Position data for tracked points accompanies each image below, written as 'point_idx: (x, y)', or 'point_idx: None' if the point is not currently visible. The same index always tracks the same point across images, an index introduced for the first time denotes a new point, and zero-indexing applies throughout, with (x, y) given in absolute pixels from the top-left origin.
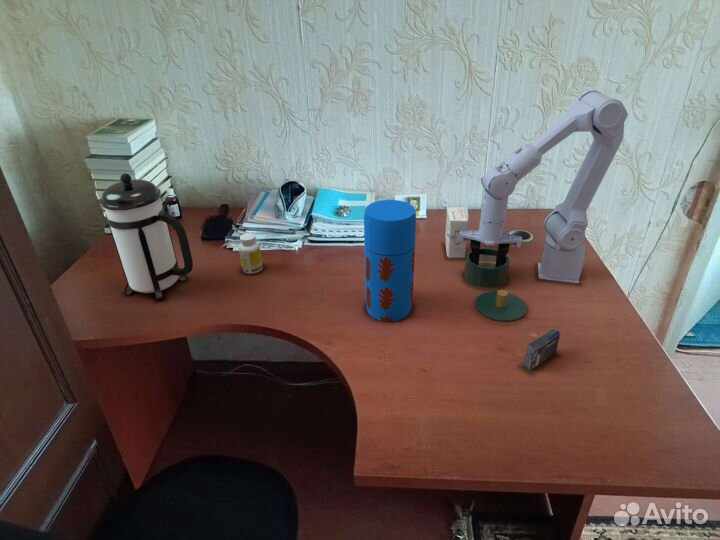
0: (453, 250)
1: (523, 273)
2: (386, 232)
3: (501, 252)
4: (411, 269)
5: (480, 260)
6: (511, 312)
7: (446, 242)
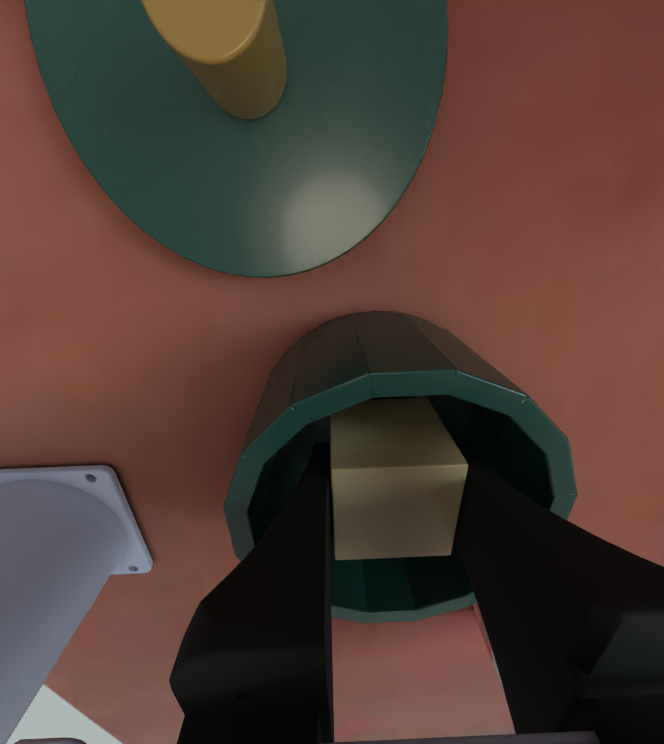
0: None
1: (197, 495)
2: None
3: (279, 595)
4: None
5: (454, 487)
6: None
7: None
